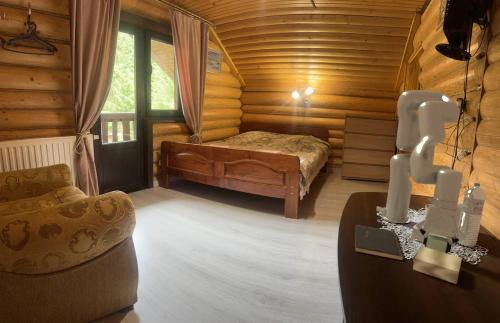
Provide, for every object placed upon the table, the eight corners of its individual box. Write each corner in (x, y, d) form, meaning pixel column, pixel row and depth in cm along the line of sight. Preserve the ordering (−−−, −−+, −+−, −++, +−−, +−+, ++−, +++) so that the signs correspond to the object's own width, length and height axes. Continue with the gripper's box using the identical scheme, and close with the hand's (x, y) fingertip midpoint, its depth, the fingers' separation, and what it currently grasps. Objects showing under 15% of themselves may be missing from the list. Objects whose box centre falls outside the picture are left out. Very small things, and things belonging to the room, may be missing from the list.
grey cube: (411, 239, 124) (412, 227, 123) (413, 235, 127) (415, 224, 127) (424, 243, 121) (426, 231, 120) (427, 239, 124) (429, 227, 124)
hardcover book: (354, 252, 110) (355, 246, 110) (354, 229, 132) (355, 224, 131) (402, 262, 105) (403, 255, 105) (395, 236, 127) (395, 231, 126)
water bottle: (472, 242, 124) (484, 182, 119) (478, 249, 118) (491, 186, 113) (452, 238, 126) (464, 180, 122) (457, 245, 120) (469, 184, 115)
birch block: (412, 269, 100) (414, 258, 99) (419, 256, 109) (421, 246, 108) (456, 284, 92) (458, 272, 92) (459, 268, 102) (461, 257, 101)
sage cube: (425, 252, 112) (427, 237, 111) (427, 247, 117) (430, 232, 116) (444, 258, 109) (447, 242, 108) (446, 252, 113) (448, 237, 112)
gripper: (415, 200, 112) (408, 245, 115) (473, 212, 101) (463, 262, 104) (419, 196, 117) (412, 239, 121) (474, 207, 107) (465, 254, 110)
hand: (436, 249), depth 113 cm, fingers closed on sage cube, 6 cm apart
